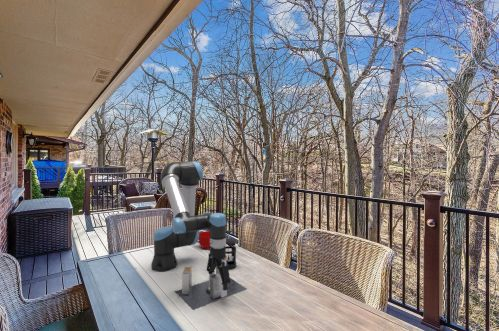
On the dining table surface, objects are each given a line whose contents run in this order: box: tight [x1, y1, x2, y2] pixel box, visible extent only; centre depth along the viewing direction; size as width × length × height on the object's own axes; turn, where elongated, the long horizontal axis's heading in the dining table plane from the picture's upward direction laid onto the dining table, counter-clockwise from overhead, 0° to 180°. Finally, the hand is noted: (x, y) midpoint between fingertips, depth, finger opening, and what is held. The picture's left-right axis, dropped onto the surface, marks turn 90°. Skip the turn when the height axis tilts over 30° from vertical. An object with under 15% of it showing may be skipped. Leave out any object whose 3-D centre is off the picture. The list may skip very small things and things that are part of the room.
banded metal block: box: [210, 272, 222, 299], centre depth 134 cm, size 3×7×10 cm, turn 128°
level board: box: [174, 277, 248, 311], centre depth 139 cm, size 20×30×3 cm, turn 128°
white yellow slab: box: [215, 258, 227, 274], centre depth 150 cm, size 3×7×10 cm, turn 163°
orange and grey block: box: [181, 266, 193, 294], centre depth 138 cm, size 3×7×10 cm, turn 1°
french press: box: [224, 229, 237, 271], centre depth 167 cm, size 12×9×23 cm
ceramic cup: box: [197, 230, 211, 250], centre depth 203 cm, size 13×17×10 cm
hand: (217, 291), depth 134 cm, fingers open, 10 cm apart
